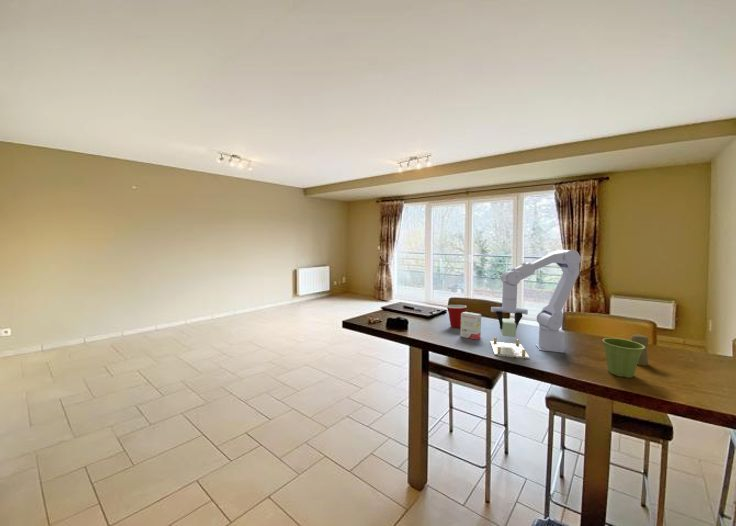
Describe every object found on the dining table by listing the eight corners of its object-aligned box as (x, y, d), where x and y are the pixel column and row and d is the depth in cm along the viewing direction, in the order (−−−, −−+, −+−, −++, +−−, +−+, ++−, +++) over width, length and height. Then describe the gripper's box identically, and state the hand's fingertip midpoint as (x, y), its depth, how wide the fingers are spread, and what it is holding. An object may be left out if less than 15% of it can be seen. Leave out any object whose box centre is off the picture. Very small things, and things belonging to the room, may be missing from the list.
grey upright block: (624, 360, 125) (626, 333, 124) (634, 359, 127) (636, 332, 126) (642, 366, 119) (644, 338, 118) (652, 364, 121) (654, 336, 121)
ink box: (481, 337, 153) (481, 313, 152) (477, 340, 149) (478, 315, 148) (464, 334, 158) (464, 311, 157) (459, 336, 154) (460, 312, 154)
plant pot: (597, 373, 112) (599, 342, 111) (603, 364, 120) (605, 335, 120) (641, 384, 104) (643, 351, 103) (644, 374, 112) (646, 343, 111)
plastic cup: (453, 323, 179) (454, 302, 179) (470, 327, 171) (471, 305, 170) (441, 326, 172) (442, 304, 172) (458, 330, 164) (459, 308, 163)
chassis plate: (521, 345, 141) (521, 339, 141) (529, 359, 125) (529, 351, 125) (490, 342, 145) (490, 336, 145) (494, 355, 129) (494, 348, 128)
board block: (512, 331, 142) (512, 319, 142) (515, 337, 133) (516, 324, 132) (500, 330, 144) (500, 318, 143) (502, 335, 134) (503, 323, 134)
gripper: (526, 298, 138) (524, 328, 139) (490, 295, 143) (489, 325, 143) (529, 300, 132) (527, 332, 133) (492, 298, 136) (490, 329, 137)
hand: (508, 329), depth 138 cm, fingers closed on board block, 5 cm apart
